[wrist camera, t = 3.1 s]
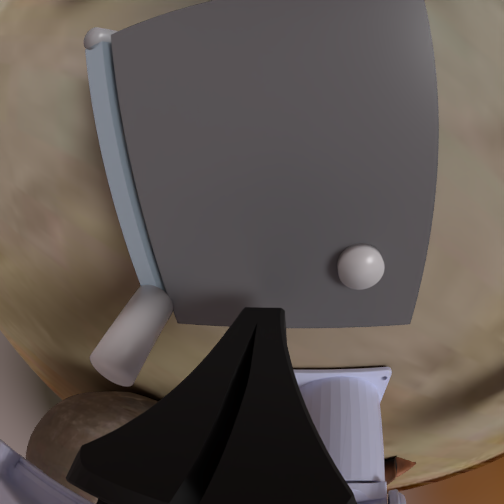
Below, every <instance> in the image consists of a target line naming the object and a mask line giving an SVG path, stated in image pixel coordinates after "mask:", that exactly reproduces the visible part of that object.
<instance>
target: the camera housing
mask: <svg viewBox="0 0 504 504" xmlns="http://www.w3.org/2000/svg"><path fill="white" fill-rule="evenodd" d="M111 43H112V53H113V62H114V70H115V78H116V85H117V92H118V99H119V105H120V111H121V117H122V122H123V128H124V133H125V138H126V143H127V148H128V153H129V158H130V162H131V167H132V171H133V175H134V180H135V184H136V188H137V192H138V196H139V200H140V204H141V208H142V212H143V215H144V219H145V223H146V226H147V230H148V234H149V237H150V240H151V244H152V247H153V251H154V254H155V257H156V260H157V264H158V267H159V270H160V273H161V276H162V279H163V282H164V285H165V288H166V291H167V294H168V296H169V297H170V299H171V300H172V303H173V312H174V314H175V317H176V320H177V323H181V324H195V325H211V326H231V325H232V324H233V322H234V321H235V319H236V318H237V317H238V315H239V314H240V312H241V311H242V309H244V308H245V307H260V308H282V309H284V310H285V321H286V328H345V327H371V326H390V325H405V324H410V322H411V319H412V315H413V312H414V308H415V304H416V300H417V296H418V292H419V288H420V284H421V280H422V275H423V270H424V266H425V261H426V255H427V250H428V244H429V238H430V232H431V226H432V218H433V211H434V202H435V192H436V181H437V166H438V139H439V119H438V93H437V79H436V68H435V59H434V51H433V44H432V37H431V31H430V26H429V20H428V15H427V11H426V6H425V2H424V0H211V1H209V2H205V3H201V4H197V5H193V6H189V7H186V8H182V9H179V10H175V11H172V12H169V13H166V14H163V15H160V16H157V17H154V18H151V19H148V20H146V21H143V22H140V23H138V24H135V25H132V26H130V27H128V28H125V29H123V30H120V31H118V32H116V33H114V34H111Z"/></svg>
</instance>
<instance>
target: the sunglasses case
mask: <svg viewBox="0 0 504 504" xmlns="http://www.w3.org/2000/svg"><path fill="white" fill-rule="evenodd" d="M415 464H416V462H411V461H408V460H405V459H402V458H399V457H395V458H394V459H390V460H387V461H385V462H384V469H385V481H386V482H387V485H388V484H389V483H390V482H392V481H393V480H394V479H395V478H396V477H398V476H400V475H401V474H403V473H405V472H406V471H408V470H409V469H410V468H411V467H413V466H414V465H415Z"/></svg>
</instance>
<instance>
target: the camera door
mask: <svg viewBox="0 0 504 504" xmlns="http://www.w3.org/2000/svg"><path fill="white" fill-rule="evenodd" d="M116 32H118V31H114V30H109V29H104V28H98V27H95V28H92V29H90V30H89V31H88V32H87V34H86V35H85V38H84V46H85V48H86V49H85V52H86V62H87V71H88V79H89V87H90V94H91V100H92V107H93V113H94V118H95V124H96V129H97V134H98V139H99V144H100V149H101V153H102V158H103V162H104V167H105V171H106V175H107V179H108V183H109V187H110V191H111V194H112V198H113V202H114V205H115V209H116V212H117V216H118V219H119V222H120V226H121V229H122V232H123V235H124V239H125V242H126V245H127V248H128V251H129V254H130V257H131V260H132V263H133V265H134V268H135V271H136V274H137V277H138V279H139V282H140V285H141V286H140V287H139V288H138V290H137V291H136V292H135V294H134V295H133V296H132V298H131V299H130V300H129V302H128V303H127V304H126V306H125V307H124V308H123V310H122V311H121V312H120V314H119V315H118V317H117V318H116V319H115V321H114V322H113V324H112V325H111V326H110V328H109V329H108V331H107V332H106V333H105V335H104V336H103V338H102V339H101V341H100V342H99V344H98V345H97V346H96V348H95V349H94V351H93V352H92V354H91V355H90V361H91V363H92V365H93V366H94V368H95V369H96V370H97V371H98V372H99V373H100V374H101V375H102V376H104V377H105V378H106V379H108V380H110V381H111V382H113V383H115V384H118V385H121V386H131V385H133V383H134V381H135V379H136V377H137V376H138V374H139V372H140V370H141V368H142V366H143V364H144V362H145V360H146V359H147V357H148V355H149V353H150V351H151V349H152V347H153V346H154V344H155V342H156V340H157V338H158V336H159V335H160V333H161V331H162V329H163V327H164V326H165V324H166V322H167V320H168V319H169V318H170V316H171V314H172V312H173V303H172V300H171V299H170V297H169V296H168V294H167V291H166V288H165V285H164V282H163V279H162V276H161V273H160V270H159V267H158V264H157V260H156V257H155V254H154V251H153V247H152V244H151V240H150V237H149V234H148V230H147V226H146V223H145V219H144V215H143V212H142V208H141V204H140V200H139V196H138V192H137V188H136V184H135V180H134V175H133V171H132V167H131V162H130V158H129V153H128V148H127V143H126V138H125V133H124V128H123V122H122V117H121V111H120V105H119V99H118V92H117V85H116V78H115V70H114V62H113V53H112V43H111V34H114V33H116Z"/></svg>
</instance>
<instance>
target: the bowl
mask: <svg viewBox="0 0 504 504" xmlns="http://www.w3.org/2000/svg"><path fill="white" fill-rule="evenodd" d="M157 402H158V401H156V400H153V399H150V398H148V397H145V396H142V395H138V394H135V393H131V392H120V391H107V392H88V393H82V394H77V395H74V396H71V397H68V398H66V399H65V400H63V401H61V402H59V403H57V404H56V405H55V406H54V407H52V408H51V409H50V410H49V411H48V412H47V413H46V414H45V415H44V417H43V418H42V419H41V420H40V422H39V423H38V424H37V426H36V427H35V429H34V431H33V433H32V434H31V437H30V440H29V443H28V446H27V452H26V459H27V460H28V461H29V462H31V463H32V464H33V465H35V466H36V467H37V468H39V469H40V470H42V471H43V473H45V474H46V475H48V476H49V477H51V478H52V479H54V480H55V481H57V482H58V483H60V484H61V485H63V486H65V487H66V488H68V489H70V490H71V491H73V492H75V493H76V494H78V495H80V496H82V497H83V498H85V499H87V500H89V501H91V502H93V503H95V504H96V503H97V501H98V498H96V497H94V496H92V495H90V494H88V493H86V492H84V491H83V490H81V489H79V488H77V487H76V486H74V485H72V484H70V483H69V482H67V480H66V476H67V474H68V472H69V470H70V468H71V465H72V463H73V461H74V459H75V457H76V455H77V453H78V451H79V450H80V448H81V446H82V445H84V444H86V443H89V442H91V441H93V440H95V439H97V438H99V437H102V436H104V435H106V434H108V433H110V432H112V431H114V430H116V429H117V428H119V427H121V426H123V425H124V424H126V423H128V422H129V421H131V420H132V419H134V418H136V417H137V416H139V415H140V414H142V413H143V412H145V411H146V410H148V409H149V408H150V407H152V406H153V405H155V404H156V403H157Z"/></svg>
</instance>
